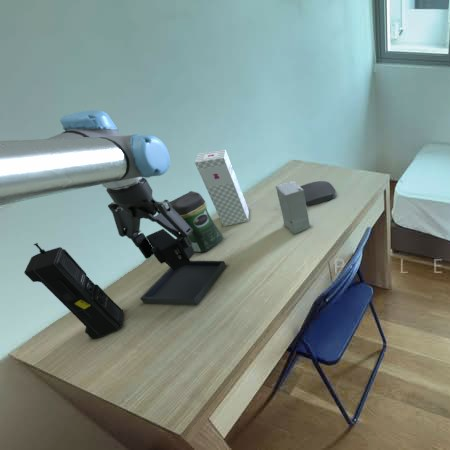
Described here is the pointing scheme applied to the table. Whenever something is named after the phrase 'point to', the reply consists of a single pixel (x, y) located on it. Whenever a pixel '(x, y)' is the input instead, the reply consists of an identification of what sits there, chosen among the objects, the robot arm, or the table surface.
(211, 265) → the shallow black tray
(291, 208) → the cosmetic box
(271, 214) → the table surface
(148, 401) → the table surface
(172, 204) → the coffee jar
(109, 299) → the portable radio
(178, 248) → the digital camera
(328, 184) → the media streaming box
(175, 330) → the table surface
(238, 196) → the box
